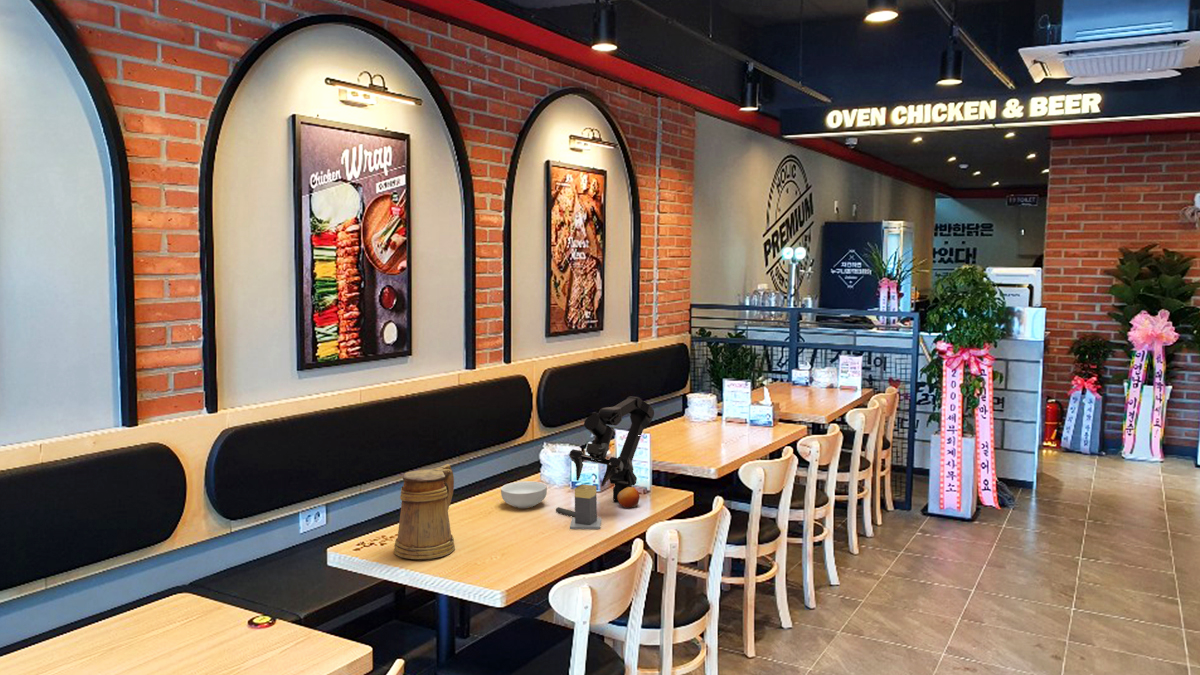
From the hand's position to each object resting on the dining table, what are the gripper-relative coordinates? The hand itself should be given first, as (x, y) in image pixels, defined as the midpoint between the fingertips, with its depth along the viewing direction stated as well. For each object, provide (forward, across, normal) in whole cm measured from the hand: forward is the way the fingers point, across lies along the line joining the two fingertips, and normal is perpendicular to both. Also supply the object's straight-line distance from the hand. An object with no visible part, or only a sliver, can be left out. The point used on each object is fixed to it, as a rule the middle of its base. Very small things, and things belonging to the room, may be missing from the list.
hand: (589, 483), depth 308 cm
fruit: (0, +10, +19) cm, 22 cm away
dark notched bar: (+11, -5, +6) cm, 14 cm away
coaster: (+15, +4, -2) cm, 16 cm away
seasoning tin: (+14, +3, -2) cm, 15 cm away
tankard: (+40, -34, -30) cm, 61 cm away
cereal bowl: (+10, -26, +14) cm, 31 cm away
